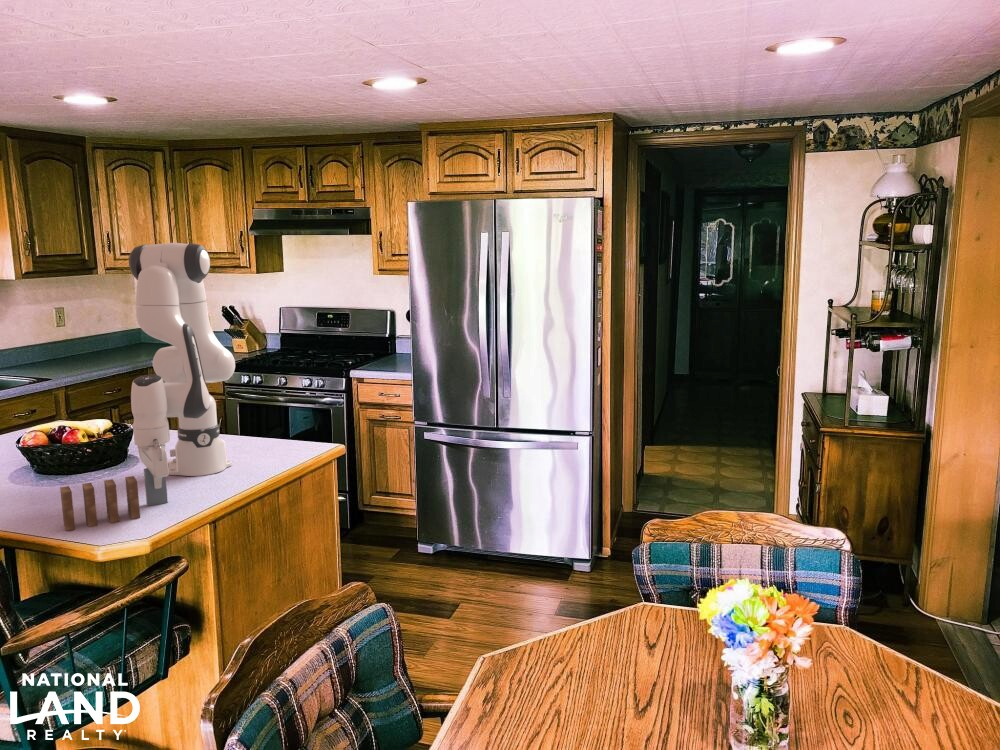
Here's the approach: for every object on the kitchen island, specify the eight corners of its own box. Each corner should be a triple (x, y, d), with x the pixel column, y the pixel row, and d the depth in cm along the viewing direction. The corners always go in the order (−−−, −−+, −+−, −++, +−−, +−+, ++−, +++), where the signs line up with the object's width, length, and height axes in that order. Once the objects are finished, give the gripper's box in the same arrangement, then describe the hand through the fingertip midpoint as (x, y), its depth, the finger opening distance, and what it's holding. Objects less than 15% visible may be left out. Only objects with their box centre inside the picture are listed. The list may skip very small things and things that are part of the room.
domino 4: (131, 519, 206) (128, 482, 204) (128, 513, 210) (125, 477, 208) (140, 517, 207) (137, 480, 205) (136, 512, 211) (133, 475, 209)
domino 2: (88, 527, 200) (85, 489, 198) (86, 521, 204) (82, 483, 203) (97, 525, 201) (93, 487, 200) (94, 519, 205) (91, 482, 204)
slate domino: (146, 504, 217) (143, 468, 216) (166, 500, 220) (163, 465, 218) (148, 506, 216) (145, 470, 214) (167, 502, 218) (164, 467, 217)
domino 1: (66, 531, 198) (62, 492, 196) (64, 525, 202) (60, 487, 200) (75, 529, 199) (71, 491, 197) (72, 523, 203) (69, 485, 201)
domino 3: (110, 523, 203) (107, 485, 201) (107, 517, 207) (104, 480, 205) (119, 521, 204) (115, 484, 202) (115, 516, 208) (112, 479, 206)
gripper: (172, 442, 208) (176, 493, 210) (156, 426, 225) (160, 474, 227) (146, 446, 204) (151, 497, 207) (132, 430, 221) (136, 477, 224)
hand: (155, 485), depth 217 cm, fingers open, 4 cm apart
